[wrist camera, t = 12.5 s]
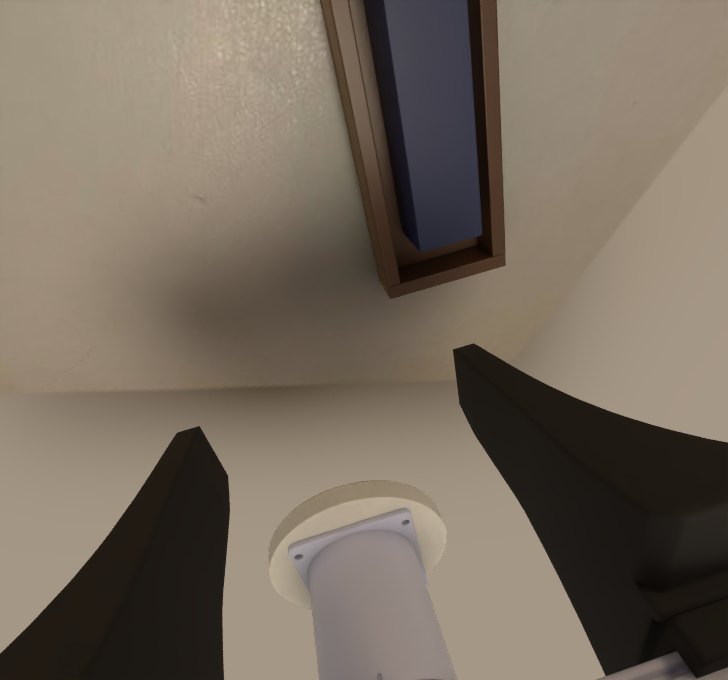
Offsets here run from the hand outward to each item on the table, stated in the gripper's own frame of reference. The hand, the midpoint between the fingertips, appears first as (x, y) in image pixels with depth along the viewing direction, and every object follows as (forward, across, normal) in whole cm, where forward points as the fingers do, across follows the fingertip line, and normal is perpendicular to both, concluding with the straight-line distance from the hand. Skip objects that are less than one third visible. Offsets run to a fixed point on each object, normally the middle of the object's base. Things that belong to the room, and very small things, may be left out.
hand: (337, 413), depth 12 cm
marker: (+9, -6, -7) cm, 13 cm away
